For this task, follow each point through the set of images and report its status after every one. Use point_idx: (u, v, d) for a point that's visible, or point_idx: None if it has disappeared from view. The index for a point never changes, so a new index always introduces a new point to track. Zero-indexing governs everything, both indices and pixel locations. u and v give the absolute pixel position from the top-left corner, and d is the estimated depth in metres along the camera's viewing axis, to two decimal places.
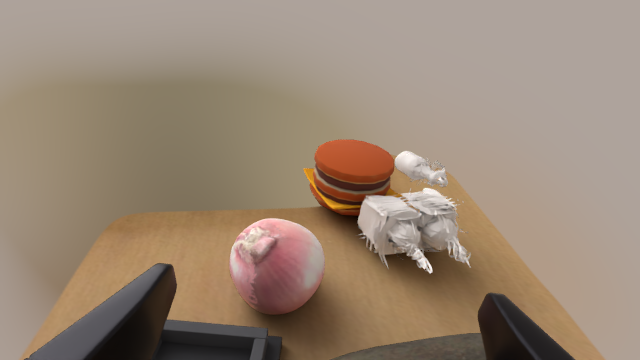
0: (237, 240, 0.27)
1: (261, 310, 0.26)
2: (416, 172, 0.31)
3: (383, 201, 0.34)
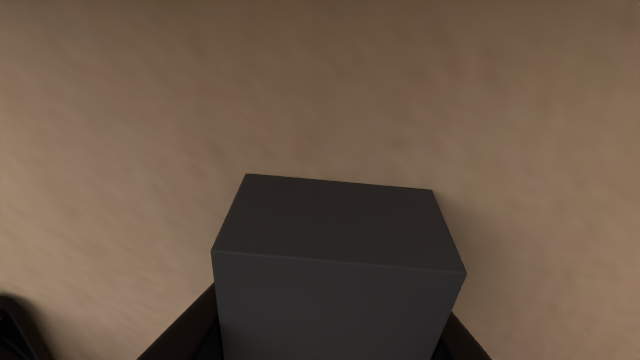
0: None
1: None
2: None
3: None
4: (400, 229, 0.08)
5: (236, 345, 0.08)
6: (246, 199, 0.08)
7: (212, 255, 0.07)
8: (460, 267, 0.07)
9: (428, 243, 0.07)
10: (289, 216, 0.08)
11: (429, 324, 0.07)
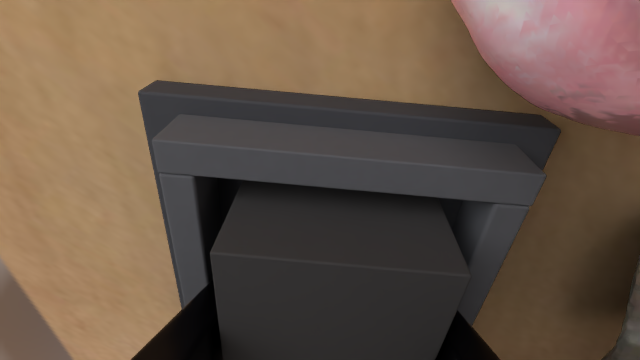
0: None
1: None
2: None
3: None
4: (403, 231, 0.07)
5: (236, 348, 0.08)
6: (246, 199, 0.08)
7: (211, 257, 0.07)
8: (465, 269, 0.07)
9: (431, 244, 0.07)
10: (289, 217, 0.08)
11: (432, 327, 0.07)
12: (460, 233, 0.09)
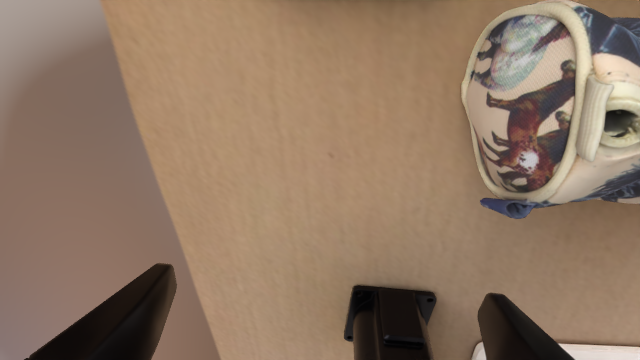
0: None
1: None
2: None
3: None
4: None
5: None
6: None
7: None
8: None
9: None
10: None
11: None
12: None
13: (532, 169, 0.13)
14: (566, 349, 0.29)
